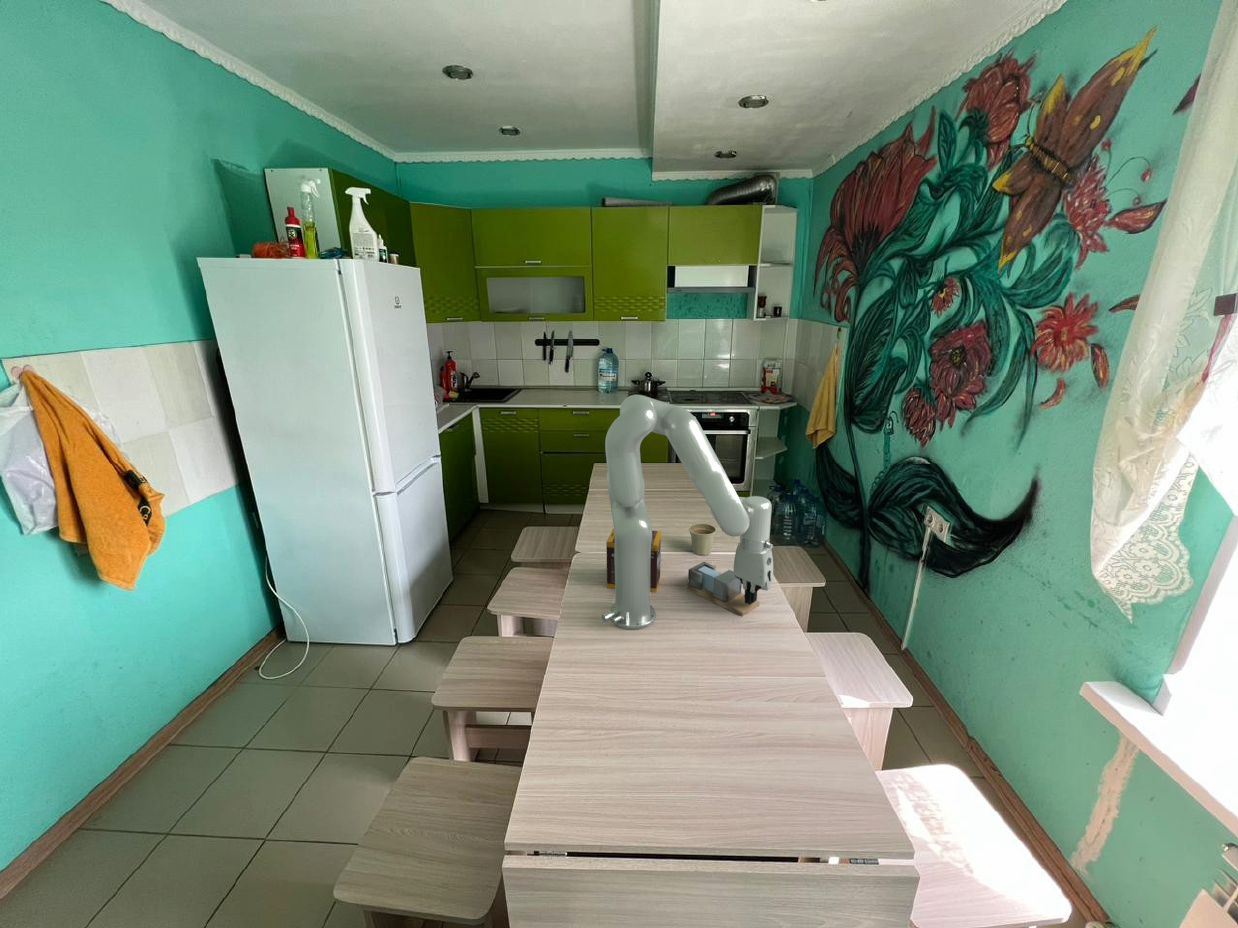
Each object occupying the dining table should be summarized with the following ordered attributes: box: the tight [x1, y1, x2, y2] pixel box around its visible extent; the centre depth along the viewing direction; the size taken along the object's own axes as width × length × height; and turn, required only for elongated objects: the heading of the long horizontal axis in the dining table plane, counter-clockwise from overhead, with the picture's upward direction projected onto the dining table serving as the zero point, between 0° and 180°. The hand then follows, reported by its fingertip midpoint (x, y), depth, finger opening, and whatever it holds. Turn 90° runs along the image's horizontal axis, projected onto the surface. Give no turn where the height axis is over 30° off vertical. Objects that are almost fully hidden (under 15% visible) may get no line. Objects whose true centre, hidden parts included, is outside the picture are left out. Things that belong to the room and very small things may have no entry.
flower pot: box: [688, 522, 717, 556], centre depth 178 cm, size 9×9×9 cm
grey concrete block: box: [713, 569, 743, 602], centre depth 149 cm, size 4×7×6 cm, turn 132°
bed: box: [686, 561, 760, 617], centre depth 151 cm, size 20×8×6 cm, turn 42°
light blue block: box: [698, 566, 722, 592], centre depth 153 cm, size 10×3×5 cm, turn 42°
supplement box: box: [605, 527, 662, 594], centre depth 158 cm, size 10×15×16 cm
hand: (750, 601), depth 145 cm, fingers closed
